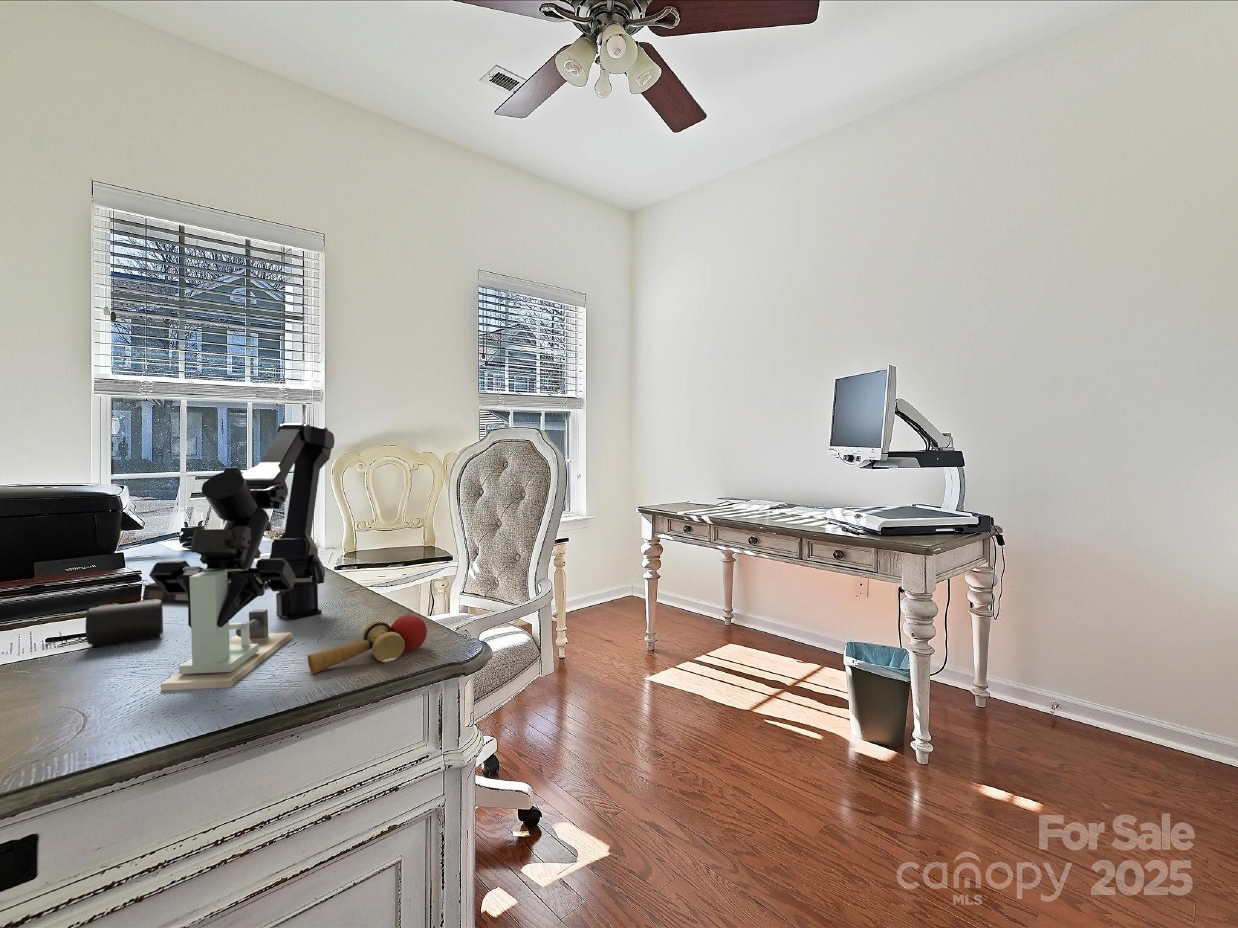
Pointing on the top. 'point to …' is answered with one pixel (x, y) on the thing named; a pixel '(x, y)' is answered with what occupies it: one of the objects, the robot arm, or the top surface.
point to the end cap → (124, 622)
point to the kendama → (376, 643)
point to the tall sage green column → (213, 628)
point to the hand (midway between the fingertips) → (205, 626)
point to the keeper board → (227, 679)
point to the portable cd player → (157, 593)
